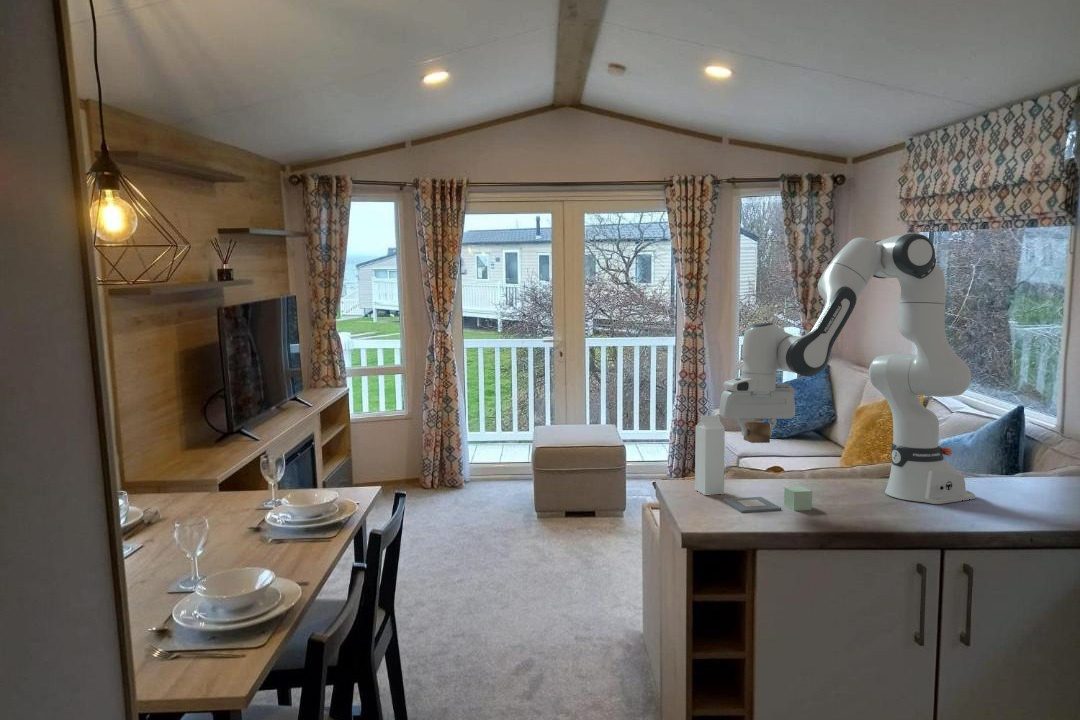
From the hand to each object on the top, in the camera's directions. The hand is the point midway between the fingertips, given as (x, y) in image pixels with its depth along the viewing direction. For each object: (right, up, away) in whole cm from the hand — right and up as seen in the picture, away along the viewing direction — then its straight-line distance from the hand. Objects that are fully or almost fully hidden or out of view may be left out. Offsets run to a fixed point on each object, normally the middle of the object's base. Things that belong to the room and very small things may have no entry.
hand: (756, 435), depth 193 cm
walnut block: (0, -2, 0) cm, 2 cm away
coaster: (-2, -18, -2) cm, 19 cm away
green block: (+10, -19, -4) cm, 21 cm away
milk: (-10, -18, +12) cm, 23 cm away
